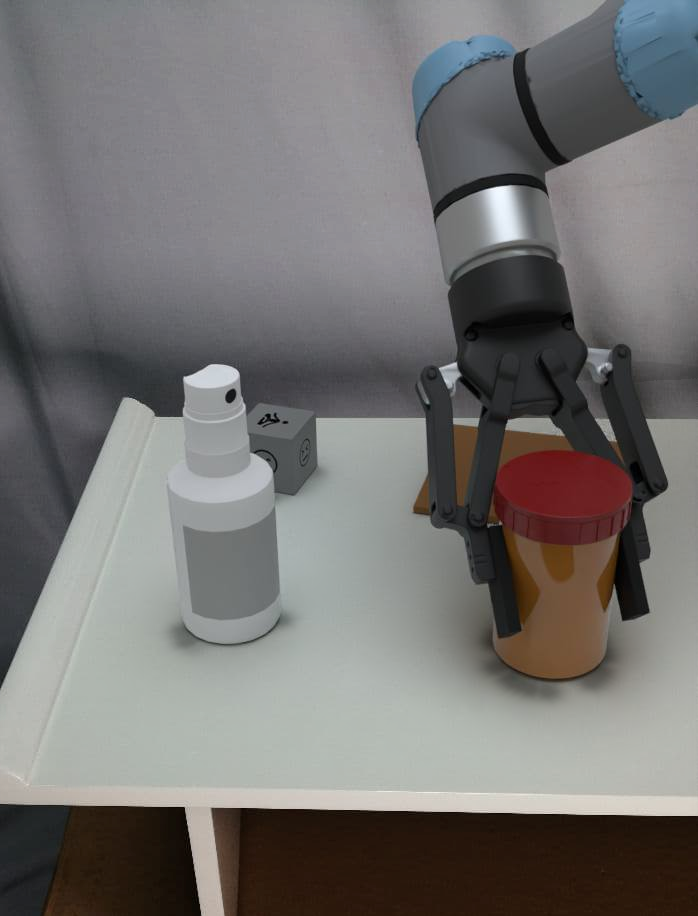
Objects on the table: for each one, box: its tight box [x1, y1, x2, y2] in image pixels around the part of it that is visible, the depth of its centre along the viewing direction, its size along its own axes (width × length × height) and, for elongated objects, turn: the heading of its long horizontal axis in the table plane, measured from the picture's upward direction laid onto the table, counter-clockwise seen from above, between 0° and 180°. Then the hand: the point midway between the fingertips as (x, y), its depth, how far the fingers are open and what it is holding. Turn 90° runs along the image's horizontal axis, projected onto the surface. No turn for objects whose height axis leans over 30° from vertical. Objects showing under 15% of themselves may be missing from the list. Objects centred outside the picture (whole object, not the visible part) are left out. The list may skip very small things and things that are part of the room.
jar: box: [492, 520, 621, 680], centre depth 73 cm, size 7×7×12 cm
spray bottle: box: [166, 363, 282, 645], centre depth 76 cm, size 7×7×18 cm
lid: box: [493, 450, 633, 545], centre depth 70 cm, size 8×8×2 cm
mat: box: [412, 423, 626, 525], centre depth 94 cm, size 16×14×1 cm
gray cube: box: [246, 402, 319, 496], centre depth 95 cm, size 5×5×5 cm
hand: (573, 625), depth 71 cm, fingers closed on jar, 7 cm apart
